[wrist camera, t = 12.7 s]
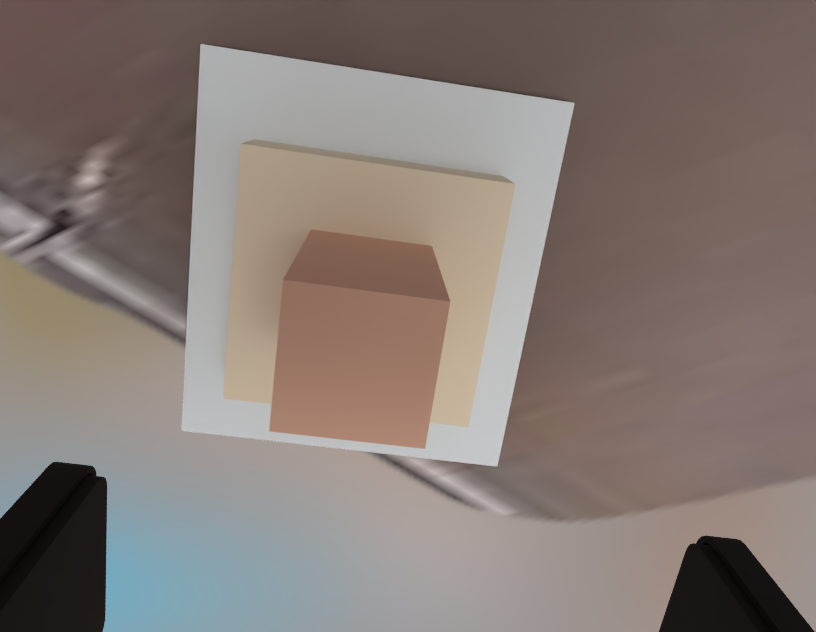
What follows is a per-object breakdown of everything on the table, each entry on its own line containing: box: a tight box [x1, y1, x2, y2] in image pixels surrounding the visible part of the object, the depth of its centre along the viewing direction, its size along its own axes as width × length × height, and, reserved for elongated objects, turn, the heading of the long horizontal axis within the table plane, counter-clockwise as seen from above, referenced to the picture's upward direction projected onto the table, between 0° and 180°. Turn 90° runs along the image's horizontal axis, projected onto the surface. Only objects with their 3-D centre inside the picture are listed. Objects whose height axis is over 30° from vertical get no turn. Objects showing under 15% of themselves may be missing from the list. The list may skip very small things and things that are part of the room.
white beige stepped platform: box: [181, 44, 575, 466], centre depth 30 cm, size 18×16×4 cm
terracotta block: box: [269, 229, 450, 449], centre depth 24 cm, size 5×5×8 cm
